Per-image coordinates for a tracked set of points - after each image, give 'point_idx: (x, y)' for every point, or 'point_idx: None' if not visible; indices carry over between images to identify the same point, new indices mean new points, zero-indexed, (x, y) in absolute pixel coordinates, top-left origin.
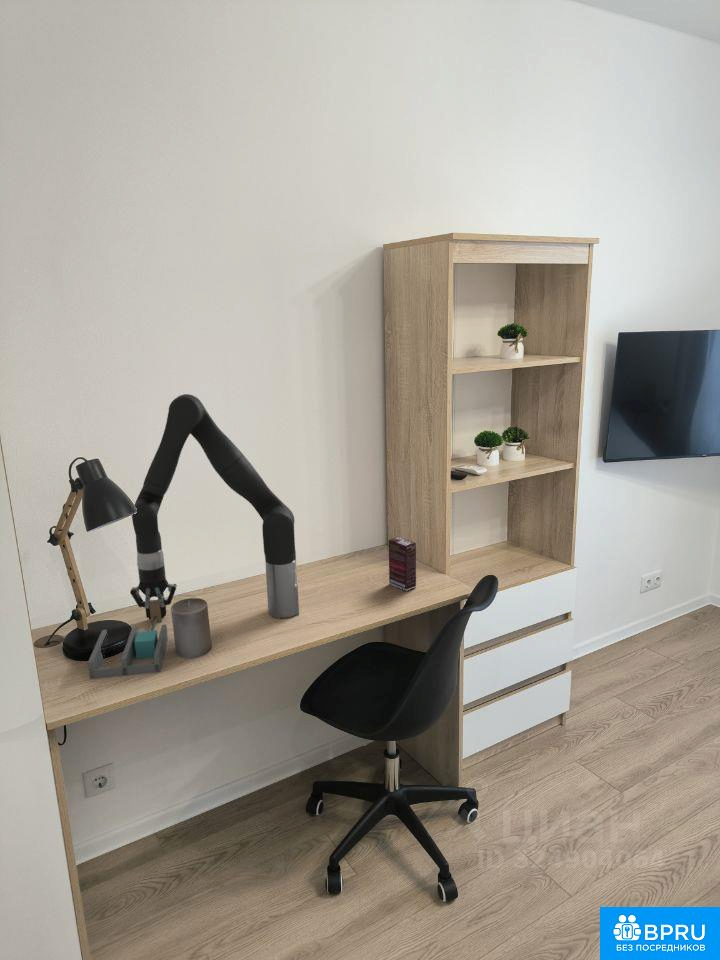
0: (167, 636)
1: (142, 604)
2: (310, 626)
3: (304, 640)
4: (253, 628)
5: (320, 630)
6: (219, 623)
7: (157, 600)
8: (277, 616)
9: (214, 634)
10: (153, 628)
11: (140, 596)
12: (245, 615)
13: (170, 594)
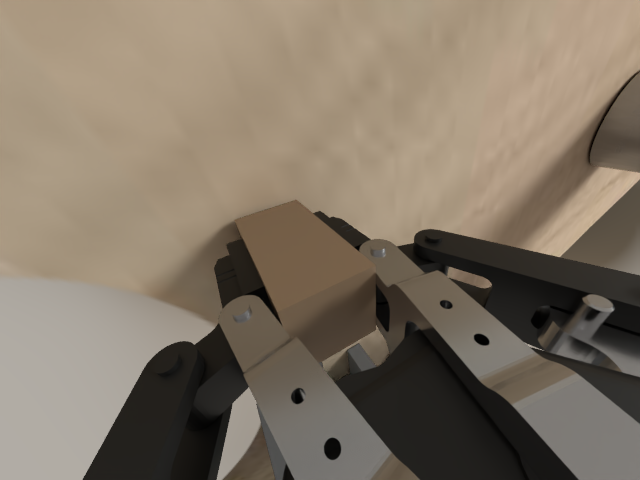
0: (368, 357)
1: (230, 403)
2: (598, 198)
3: (563, 251)
4: (533, 224)
5: (597, 211)
6: (487, 210)
7: (351, 295)
8: (597, 165)
9: (463, 274)
10: (321, 365)
11: (158, 466)
12: (555, 144)
13: (511, 330)
